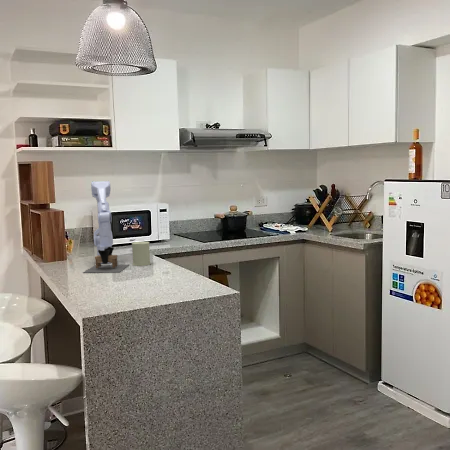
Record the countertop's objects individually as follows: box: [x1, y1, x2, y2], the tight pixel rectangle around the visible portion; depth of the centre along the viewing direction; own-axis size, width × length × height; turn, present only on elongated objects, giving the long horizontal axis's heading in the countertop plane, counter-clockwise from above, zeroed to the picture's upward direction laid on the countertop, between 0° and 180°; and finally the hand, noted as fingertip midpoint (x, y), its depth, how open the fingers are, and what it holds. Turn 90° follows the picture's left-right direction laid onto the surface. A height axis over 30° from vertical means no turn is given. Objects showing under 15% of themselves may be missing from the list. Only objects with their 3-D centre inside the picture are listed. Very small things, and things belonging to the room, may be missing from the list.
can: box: [131, 241, 151, 267], centre depth 268 cm, size 9×9×12 cm
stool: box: [94, 254, 118, 268], centre depth 256 cm, size 10×5×6 cm, turn 87°
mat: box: [82, 264, 130, 274], centre depth 257 cm, size 20×18×1 cm
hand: (106, 262), depth 257 cm, fingers open, 5 cm apart
